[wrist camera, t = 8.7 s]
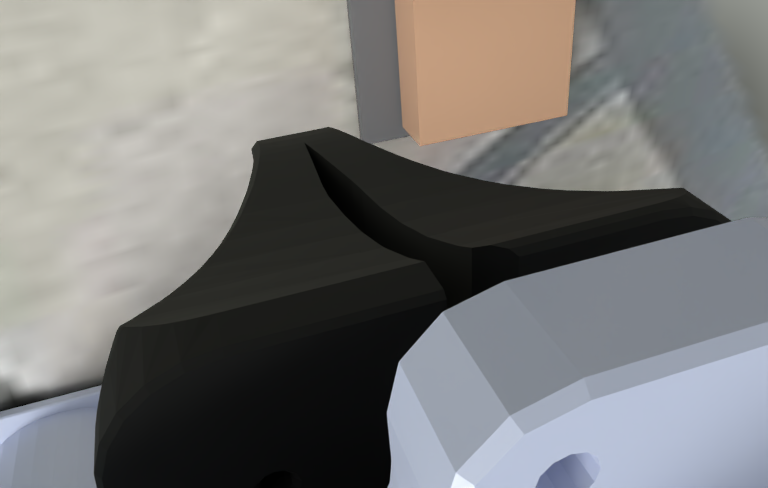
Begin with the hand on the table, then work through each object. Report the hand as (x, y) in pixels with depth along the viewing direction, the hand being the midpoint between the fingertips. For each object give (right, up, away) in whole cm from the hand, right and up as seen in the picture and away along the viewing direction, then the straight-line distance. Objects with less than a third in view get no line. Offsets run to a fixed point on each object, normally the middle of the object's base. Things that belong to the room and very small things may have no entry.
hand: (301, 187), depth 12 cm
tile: (+2, +4, +9) cm, 10 cm away
